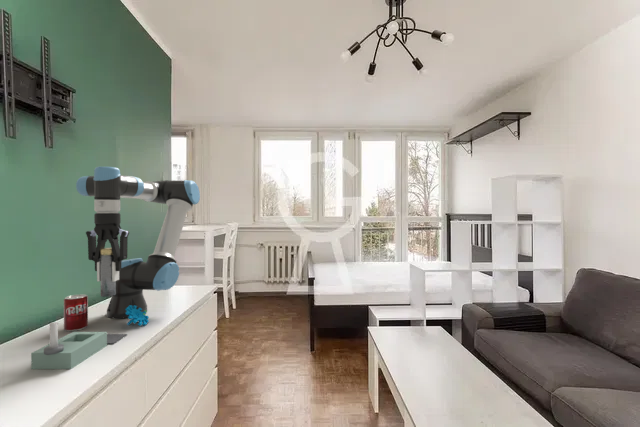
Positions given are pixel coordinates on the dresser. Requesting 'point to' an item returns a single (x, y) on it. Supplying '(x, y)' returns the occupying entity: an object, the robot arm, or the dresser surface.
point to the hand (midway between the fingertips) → (108, 280)
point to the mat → (114, 338)
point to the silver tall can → (107, 273)
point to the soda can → (75, 312)
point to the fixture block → (67, 349)
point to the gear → (136, 315)
